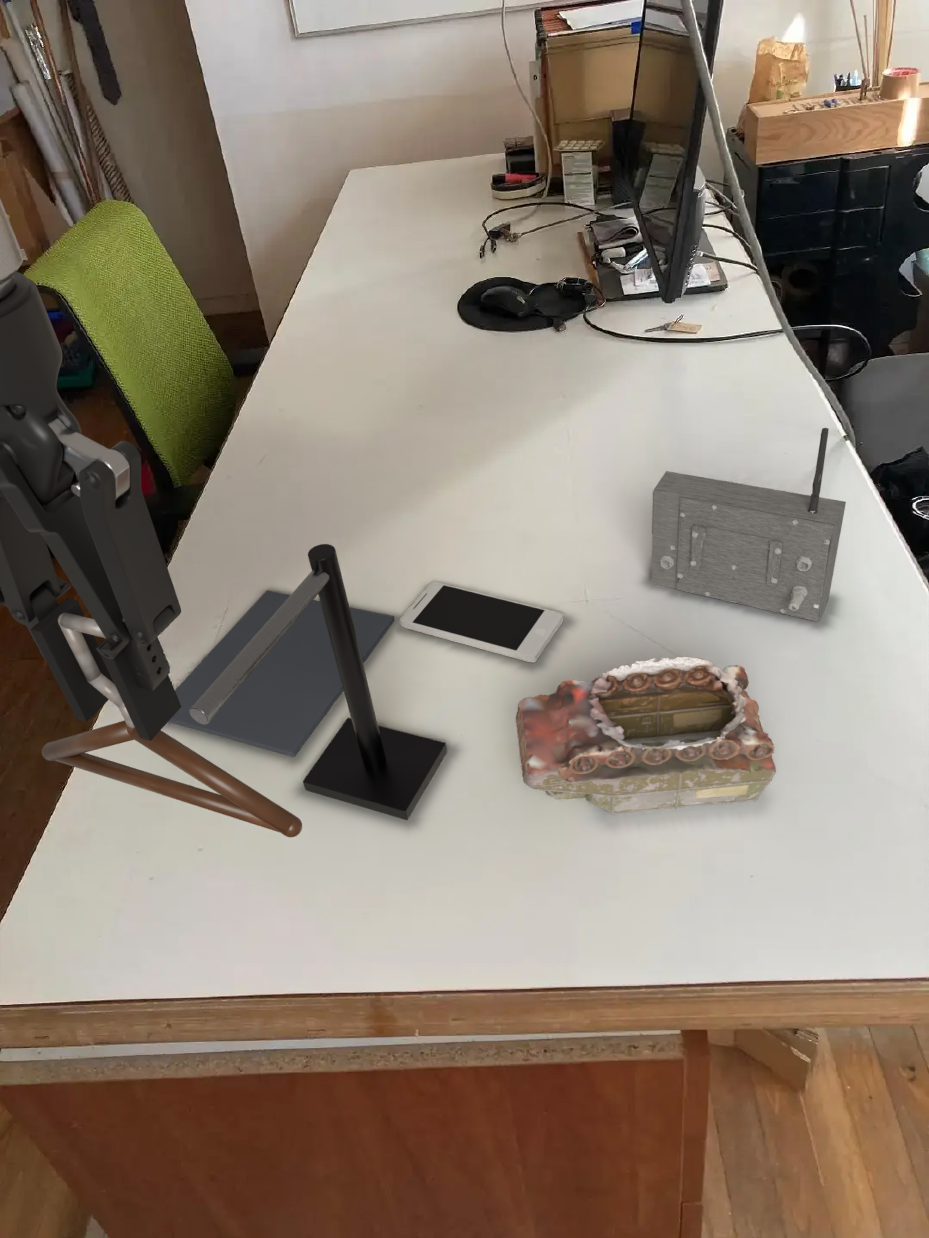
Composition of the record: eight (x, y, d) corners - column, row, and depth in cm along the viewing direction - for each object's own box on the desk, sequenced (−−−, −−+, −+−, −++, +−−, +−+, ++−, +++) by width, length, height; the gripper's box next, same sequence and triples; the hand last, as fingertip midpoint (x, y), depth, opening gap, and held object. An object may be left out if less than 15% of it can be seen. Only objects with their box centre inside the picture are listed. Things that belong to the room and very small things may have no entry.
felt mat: (155, 718, 90) (152, 713, 89) (268, 594, 103) (266, 590, 103) (294, 757, 84) (292, 752, 83) (395, 620, 97) (394, 616, 97)
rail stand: (350, 726, 86) (292, 512, 71) (447, 751, 82) (408, 530, 67) (228, 899, 73) (126, 680, 58) (338, 938, 69) (259, 716, 54)
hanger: (42, 762, 59) (-56, 594, 50) (55, 748, 60) (-39, 581, 51) (297, 844, 52) (232, 665, 43) (308, 827, 52) (247, 648, 44)
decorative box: (783, 864, 70) (799, 779, 63) (517, 865, 72) (507, 783, 66) (755, 735, 80) (765, 651, 73) (522, 740, 82) (513, 659, 76)
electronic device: (829, 598, 92) (861, 416, 80) (812, 639, 88) (844, 455, 75) (660, 562, 100) (665, 390, 87) (637, 598, 95) (640, 424, 83)
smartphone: (534, 664, 89) (534, 656, 89) (399, 626, 96) (397, 619, 95) (564, 619, 94) (564, 612, 93) (433, 587, 101) (432, 580, 100)
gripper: (160, 269, 36) (292, 700, 51) (-131, 253, 42) (62, 640, 57) (19, 350, 31) (212, 802, 46) (-289, 317, 37) (-32, 725, 52)
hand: (128, 712), depth 51 cm, fingers closed on hanger, 4 cm apart
